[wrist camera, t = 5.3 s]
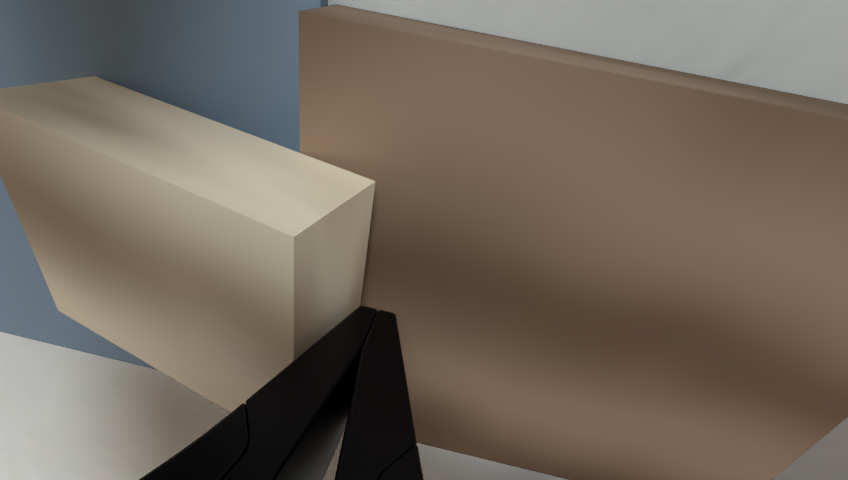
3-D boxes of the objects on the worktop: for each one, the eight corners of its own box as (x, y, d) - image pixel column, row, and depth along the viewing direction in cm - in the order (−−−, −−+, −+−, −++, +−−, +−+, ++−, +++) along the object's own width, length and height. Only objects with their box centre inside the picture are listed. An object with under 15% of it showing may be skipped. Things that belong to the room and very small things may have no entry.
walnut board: (700, 457, 15) (725, 517, 13) (323, 367, 16) (302, 414, 14) (1010, 136, 8) (1139, 176, 7) (336, 4, 9) (298, 10, 7)
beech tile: (351, 373, 12) (293, 450, 10) (142, 265, 14) (58, 310, 12) (375, 181, 8) (293, 236, 6) (94, 76, 10) (-35, 93, 8)
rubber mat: (317, 399, 17) (313, 407, 16) (-7, 320, 17) (-17, 327, 17) (330, -117, 8) (322, -122, 8) (-327, -236, 9) (-361, -245, 8)
